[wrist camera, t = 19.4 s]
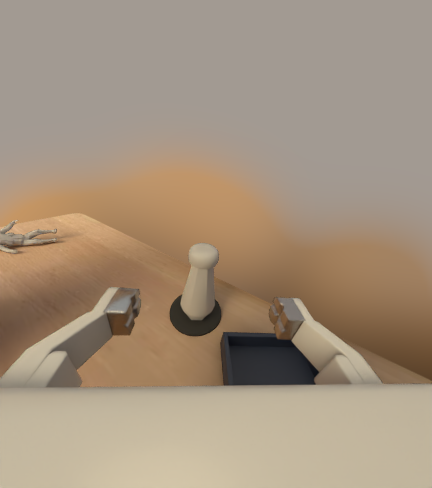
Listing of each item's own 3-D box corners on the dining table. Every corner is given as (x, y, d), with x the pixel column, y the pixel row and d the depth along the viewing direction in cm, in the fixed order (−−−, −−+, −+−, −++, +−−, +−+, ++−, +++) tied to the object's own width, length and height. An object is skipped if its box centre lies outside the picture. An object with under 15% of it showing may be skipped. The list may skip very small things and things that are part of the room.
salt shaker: (192, 332, 25) (200, 265, 19) (173, 307, 29) (175, 243, 23) (219, 313, 29) (233, 252, 23) (200, 293, 32) (207, 235, 26)
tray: (231, 484, 14) (238, 478, 13) (220, 342, 25) (223, 331, 24) (364, 473, 16) (382, 467, 15) (300, 344, 26) (307, 334, 25)
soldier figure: (57, 251, 40) (-32, 252, 30) (54, 257, 43) (-28, 259, 33) (57, 222, 41) (-28, 214, 32) (54, 229, 44) (-25, 223, 35)
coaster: (173, 342, 24) (173, 341, 24) (167, 296, 31) (167, 295, 31) (228, 328, 27) (229, 327, 27) (212, 289, 34) (212, 288, 34)
